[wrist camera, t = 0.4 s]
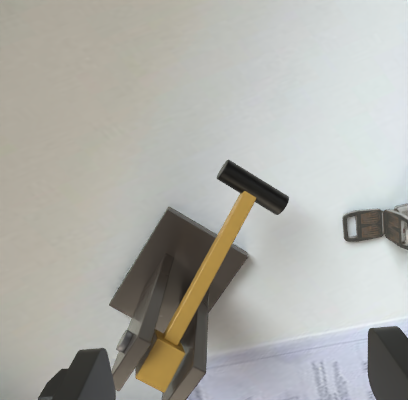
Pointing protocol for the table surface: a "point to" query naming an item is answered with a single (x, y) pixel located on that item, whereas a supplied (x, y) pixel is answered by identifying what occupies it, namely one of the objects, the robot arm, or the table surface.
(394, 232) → the strap clip
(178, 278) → the lever stand
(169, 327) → the lever handle
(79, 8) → the table surface
